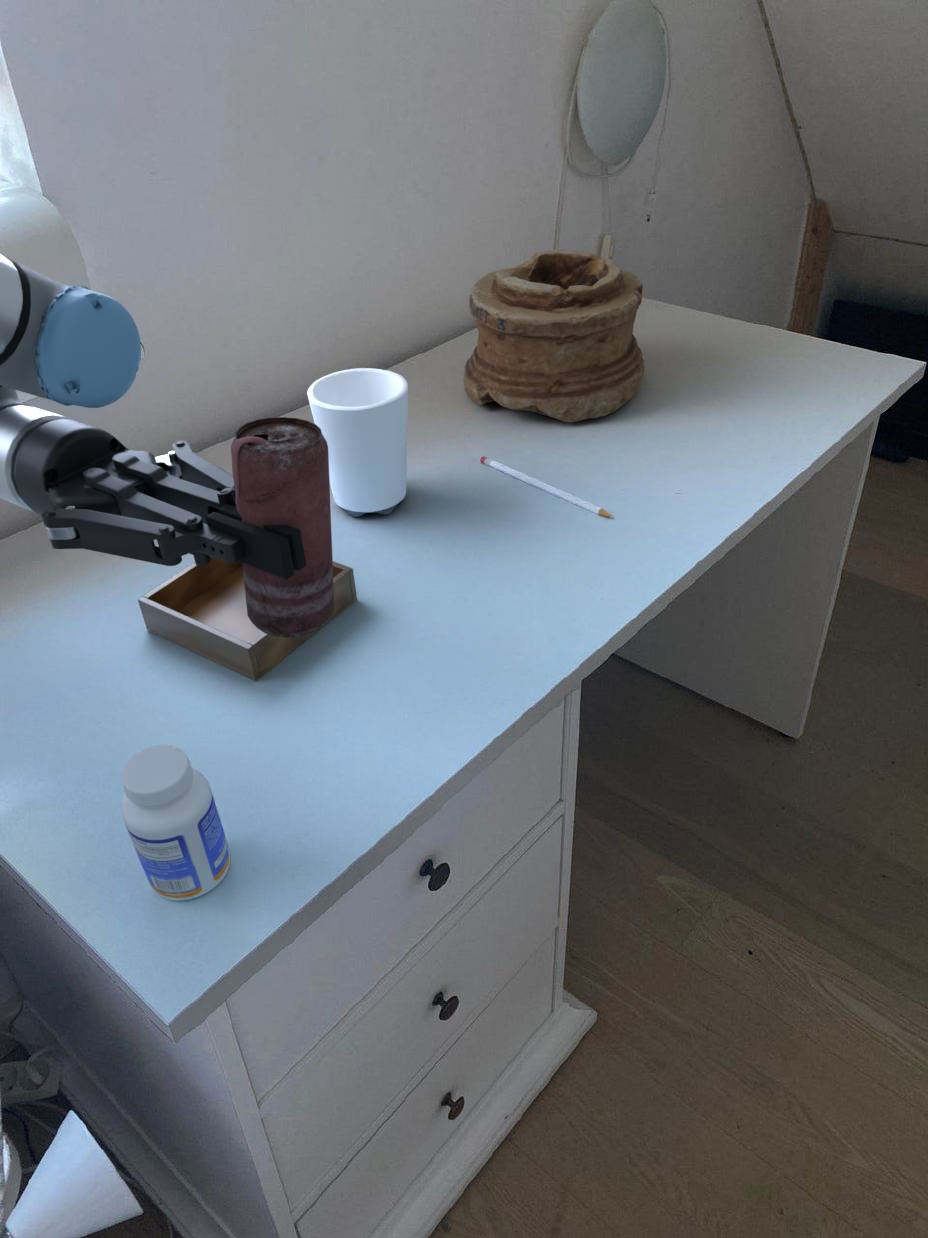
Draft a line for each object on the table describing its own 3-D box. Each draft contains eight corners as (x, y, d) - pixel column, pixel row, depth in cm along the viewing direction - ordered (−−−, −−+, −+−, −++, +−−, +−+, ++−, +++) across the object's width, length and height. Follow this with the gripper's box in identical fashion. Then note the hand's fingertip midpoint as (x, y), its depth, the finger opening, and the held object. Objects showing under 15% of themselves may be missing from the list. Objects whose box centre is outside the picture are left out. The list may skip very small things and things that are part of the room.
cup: (325, 482, 103) (308, 371, 96) (415, 474, 104) (405, 363, 96) (322, 529, 95) (304, 413, 88) (419, 521, 96) (410, 404, 88)
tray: (255, 681, 77) (248, 649, 75) (146, 630, 83) (137, 599, 81) (357, 599, 86) (353, 568, 84) (252, 558, 92) (245, 528, 90)
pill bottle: (203, 824, 65) (171, 721, 59) (248, 868, 62) (218, 764, 56) (133, 870, 62) (91, 768, 57) (175, 919, 59) (136, 816, 53)
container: (426, 397, 120) (418, 277, 110) (539, 339, 133) (539, 228, 124) (572, 446, 107) (576, 315, 98) (679, 376, 121) (691, 256, 112)
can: (227, 616, 67) (205, 430, 59) (298, 584, 71) (287, 406, 63) (280, 652, 64) (265, 461, 56) (351, 616, 68) (346, 433, 60)
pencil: (484, 460, 106) (484, 455, 105) (616, 519, 95) (616, 513, 94) (479, 463, 105) (479, 457, 105) (611, 522, 94) (611, 516, 94)
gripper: (139, 474, 77) (365, 553, 66) (-5, 552, 68) (228, 659, 57) (115, 387, 73) (353, 457, 62) (-43, 459, 64) (202, 556, 53)
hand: (293, 554), depth 60 cm, fingers closed on can
